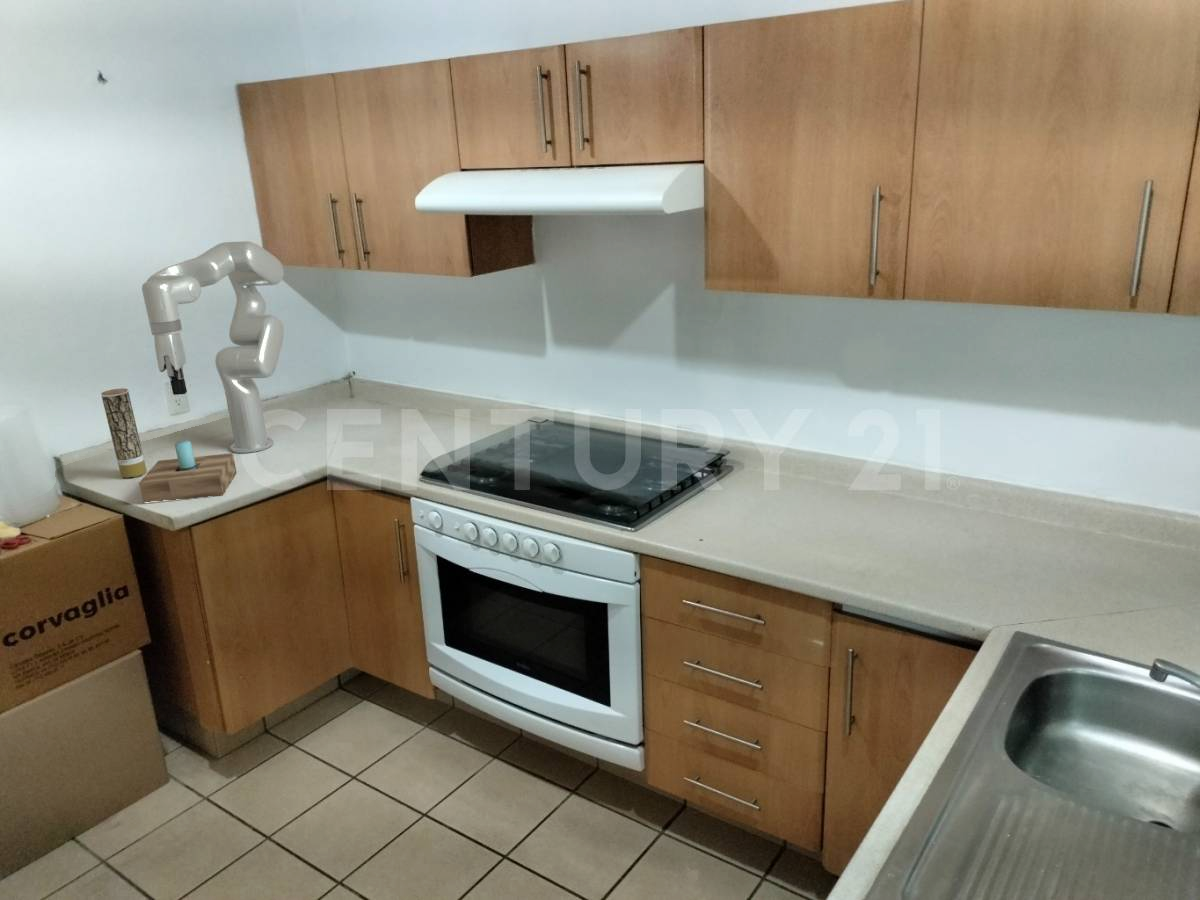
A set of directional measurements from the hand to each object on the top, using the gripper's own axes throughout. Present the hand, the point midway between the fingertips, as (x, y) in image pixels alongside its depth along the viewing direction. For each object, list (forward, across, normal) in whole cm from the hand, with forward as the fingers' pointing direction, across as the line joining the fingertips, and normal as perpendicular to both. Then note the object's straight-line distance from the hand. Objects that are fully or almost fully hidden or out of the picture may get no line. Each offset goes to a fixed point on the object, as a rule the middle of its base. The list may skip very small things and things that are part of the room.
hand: (180, 393), depth 247 cm
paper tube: (+25, -10, -20) cm, 34 cm away
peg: (+24, +7, 0) cm, 25 cm away
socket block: (+25, +7, 0) cm, 26 cm away
